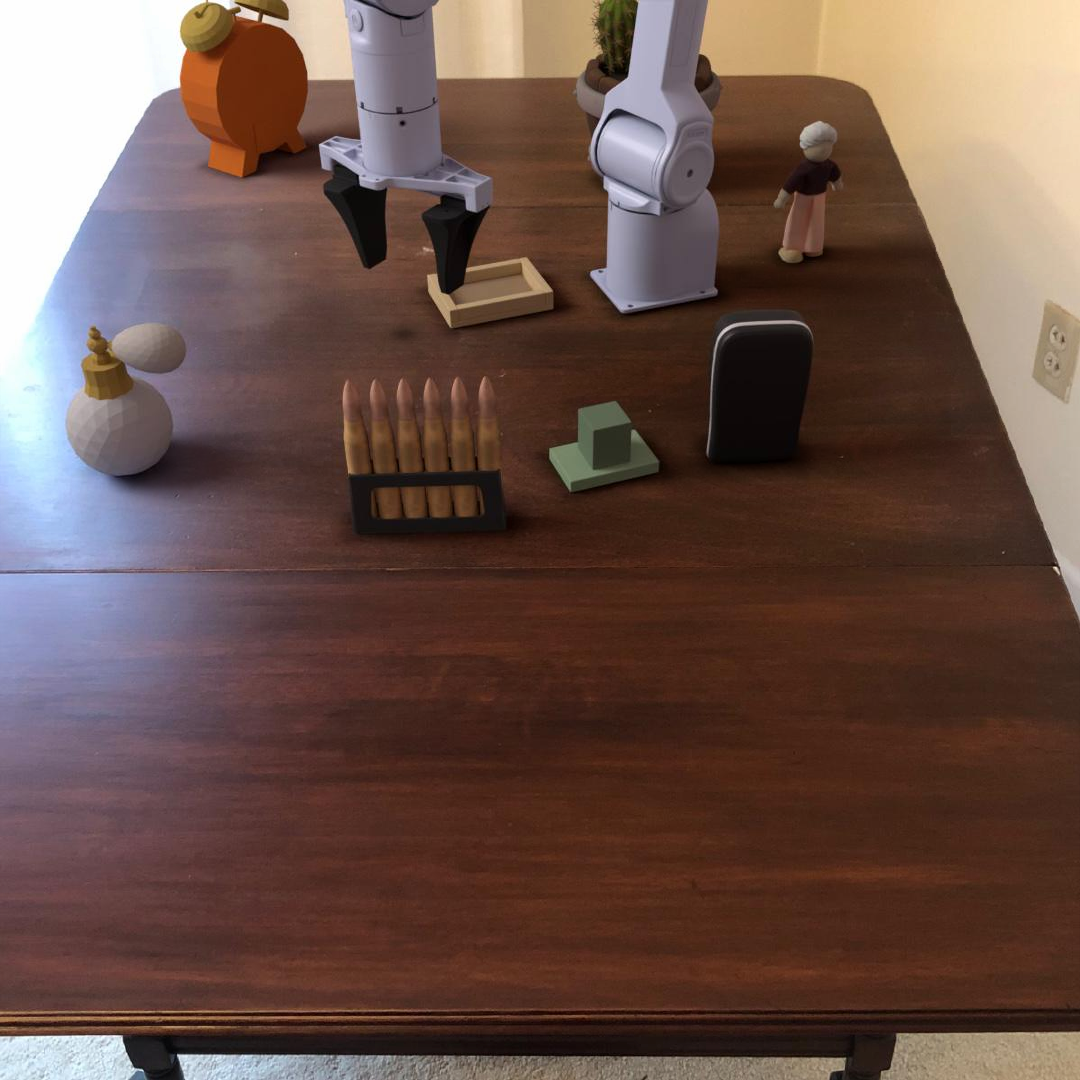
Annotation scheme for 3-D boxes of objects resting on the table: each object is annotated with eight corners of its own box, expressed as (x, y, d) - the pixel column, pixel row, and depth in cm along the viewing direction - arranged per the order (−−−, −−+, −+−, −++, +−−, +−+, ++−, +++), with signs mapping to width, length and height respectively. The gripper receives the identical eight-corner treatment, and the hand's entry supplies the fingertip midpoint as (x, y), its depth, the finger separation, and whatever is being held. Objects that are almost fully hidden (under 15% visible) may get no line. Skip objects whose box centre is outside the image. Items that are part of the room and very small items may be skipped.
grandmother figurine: (793, 272, 114) (811, 139, 106) (762, 258, 116) (777, 127, 108) (845, 247, 118) (866, 116, 110) (813, 233, 120) (831, 105, 112)
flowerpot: (736, 165, 133) (754, -31, 120) (670, 218, 123) (683, 10, 110) (620, 139, 139) (625, -50, 126) (548, 187, 129) (547, -13, 117)
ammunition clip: (352, 534, 85) (331, 388, 77) (355, 517, 87) (334, 372, 79) (506, 529, 85) (500, 384, 78) (506, 513, 87) (500, 368, 79)
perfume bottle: (80, 442, 94) (37, 303, 86) (208, 423, 96) (178, 285, 88) (77, 500, 88) (31, 357, 81) (214, 478, 90) (181, 336, 83)
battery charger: (788, 432, 94) (807, 299, 87) (799, 462, 91) (820, 326, 84) (698, 436, 94) (709, 303, 86) (706, 466, 91) (718, 330, 83)
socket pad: (527, 274, 114) (526, 256, 113) (553, 309, 109) (553, 291, 108) (428, 292, 112) (427, 274, 111) (450, 329, 107) (449, 310, 106)
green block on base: (634, 439, 93) (636, 389, 91) (659, 472, 90) (662, 421, 87) (549, 458, 92) (548, 408, 89) (570, 493, 88) (570, 442, 86)
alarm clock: (279, 131, 142) (251, -54, 129) (318, 143, 139) (293, -46, 127) (193, 170, 134) (153, -24, 121) (232, 183, 131) (196, -14, 118)
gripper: (281, 97, 86) (307, 272, 95) (445, 139, 80) (457, 322, 88) (347, 68, 91) (366, 238, 99) (507, 106, 84) (512, 283, 93)
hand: (413, 275), depth 94 cm, fingers open, 7 cm apart
